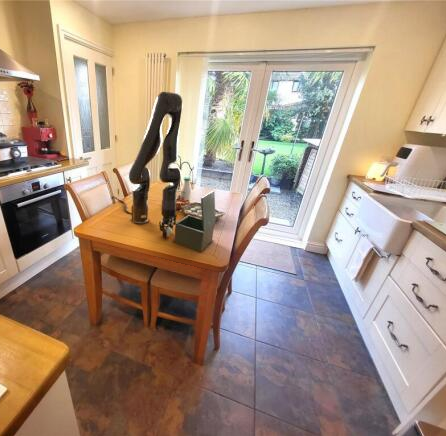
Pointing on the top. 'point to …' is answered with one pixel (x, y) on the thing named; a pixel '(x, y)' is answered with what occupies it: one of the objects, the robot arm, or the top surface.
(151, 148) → the robot arm
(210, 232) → the bin
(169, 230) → the paper ball
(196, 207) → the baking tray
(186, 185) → the milk bottle
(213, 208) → the bin lid
